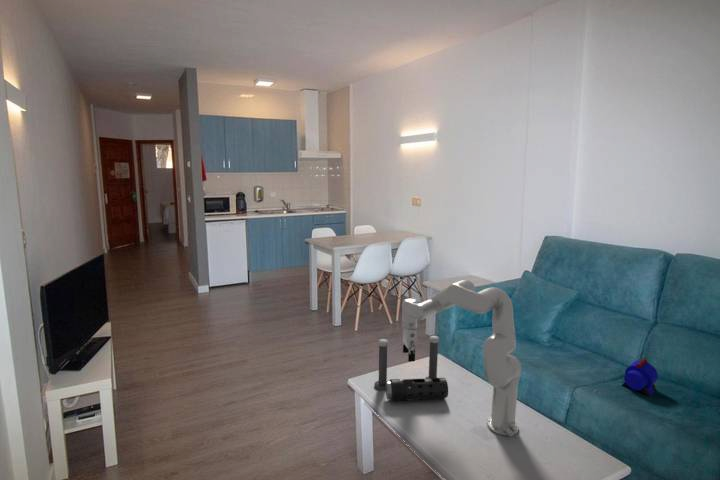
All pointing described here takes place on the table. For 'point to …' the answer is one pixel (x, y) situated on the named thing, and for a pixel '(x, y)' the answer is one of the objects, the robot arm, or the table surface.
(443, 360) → the table surface
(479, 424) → the table surface
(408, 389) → the muzzle brake
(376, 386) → the cord post
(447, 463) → the table surface
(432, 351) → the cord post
